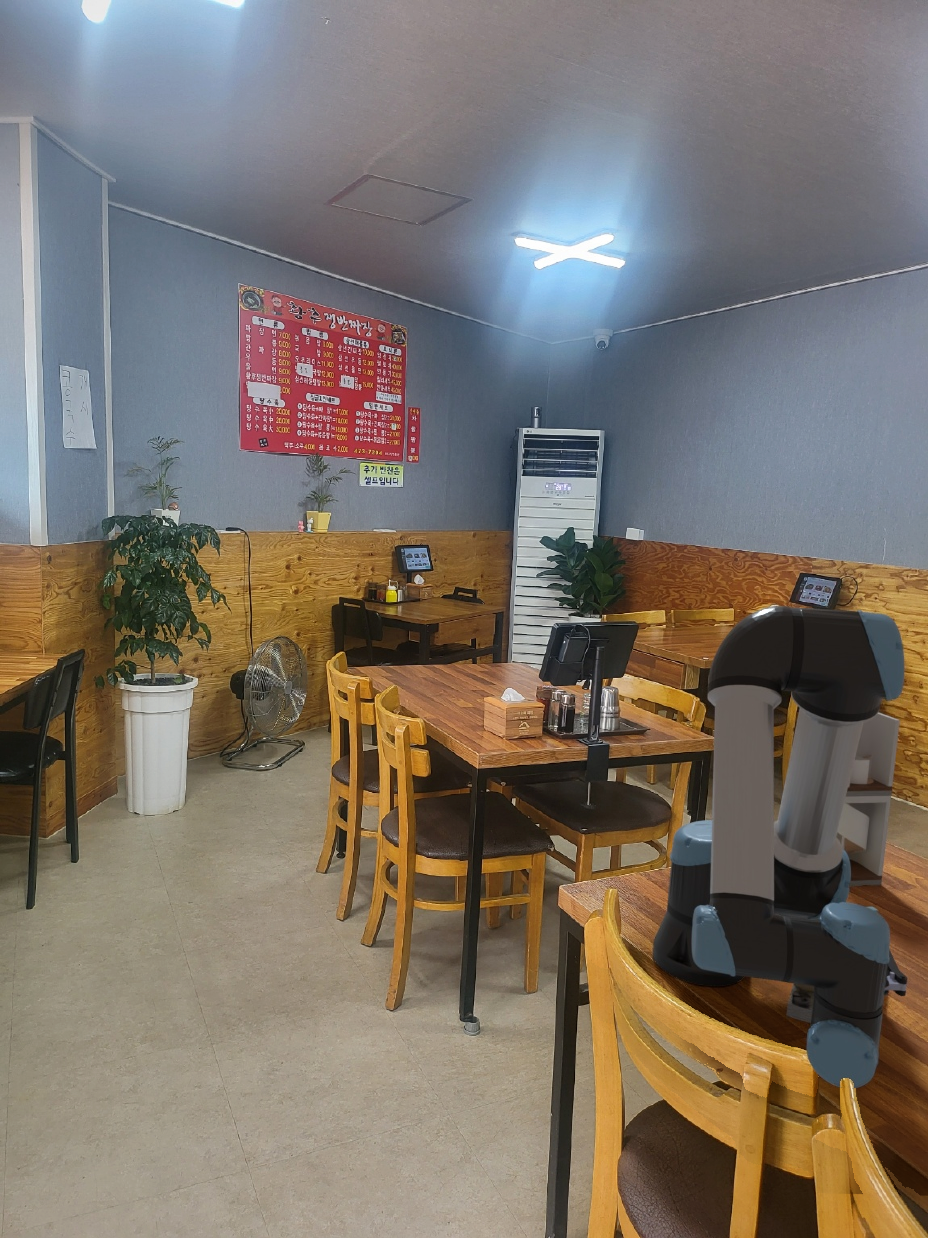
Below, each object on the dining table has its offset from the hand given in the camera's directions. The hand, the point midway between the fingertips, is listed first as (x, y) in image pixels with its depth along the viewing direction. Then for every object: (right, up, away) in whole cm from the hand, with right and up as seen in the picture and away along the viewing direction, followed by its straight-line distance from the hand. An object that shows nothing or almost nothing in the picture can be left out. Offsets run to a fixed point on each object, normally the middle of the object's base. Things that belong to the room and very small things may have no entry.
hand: (863, 926), depth 130 cm
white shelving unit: (+19, -7, +49) cm, 53 cm away
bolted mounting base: (-3, -12, +2) cm, 12 cm away
